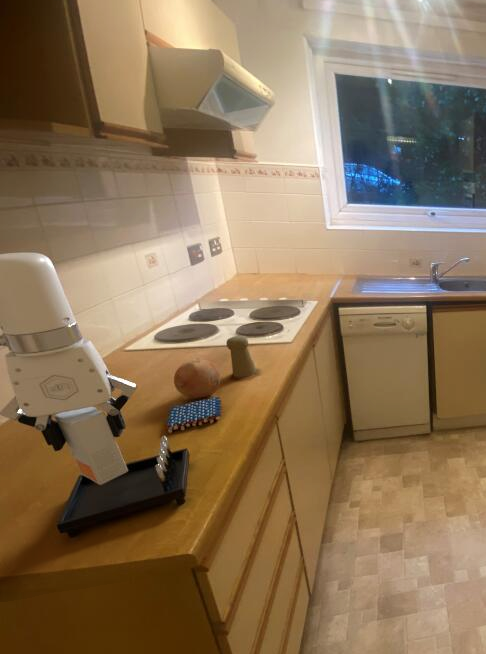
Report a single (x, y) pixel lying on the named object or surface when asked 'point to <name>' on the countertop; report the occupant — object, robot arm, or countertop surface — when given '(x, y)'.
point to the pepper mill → (240, 357)
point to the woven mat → (194, 413)
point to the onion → (197, 378)
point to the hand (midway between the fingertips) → (90, 438)
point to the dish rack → (127, 490)
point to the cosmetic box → (92, 444)
